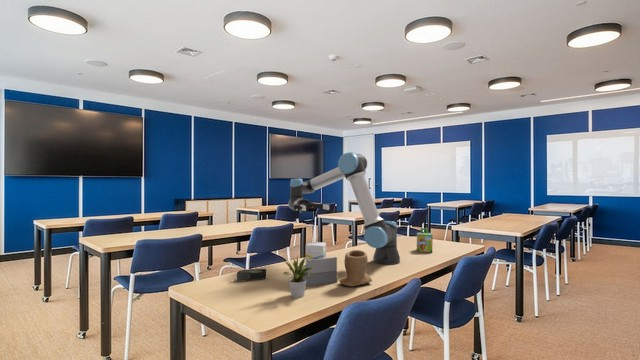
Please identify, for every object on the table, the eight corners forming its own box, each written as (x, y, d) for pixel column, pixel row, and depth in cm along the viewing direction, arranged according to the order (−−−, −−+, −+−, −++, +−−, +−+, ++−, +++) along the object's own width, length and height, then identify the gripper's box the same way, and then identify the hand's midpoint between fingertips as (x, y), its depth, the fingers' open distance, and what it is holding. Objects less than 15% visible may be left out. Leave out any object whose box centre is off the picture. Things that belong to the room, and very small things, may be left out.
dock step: (322, 273, 172) (322, 251, 172) (337, 282, 157) (337, 257, 157) (296, 276, 166) (295, 253, 166) (308, 286, 152) (308, 260, 152)
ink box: (323, 271, 157) (323, 245, 157) (305, 270, 159) (304, 244, 159) (326, 266, 165) (326, 242, 165) (309, 265, 167) (309, 241, 167)
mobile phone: (265, 267, 166) (233, 270, 160) (267, 269, 163) (234, 271, 158) (265, 278, 166) (233, 280, 160) (266, 279, 163) (234, 282, 157)
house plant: (283, 304, 129) (283, 261, 129) (273, 293, 142) (273, 253, 142) (318, 299, 135) (318, 257, 135) (305, 289, 148) (305, 250, 148)
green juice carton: (417, 252, 221) (417, 229, 222) (416, 249, 231) (416, 227, 231) (432, 252, 220) (432, 229, 220) (430, 249, 229) (430, 227, 229)
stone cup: (351, 290, 145) (351, 255, 145) (335, 283, 155) (335, 250, 155) (379, 285, 153) (379, 251, 153) (362, 278, 163) (362, 246, 163)
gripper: (321, 210, 207) (338, 213, 188) (282, 212, 197) (295, 216, 177) (321, 198, 207) (338, 200, 188) (281, 199, 197) (294, 201, 177)
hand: (317, 207), depth 182 cm, fingers open, 13 cm apart
